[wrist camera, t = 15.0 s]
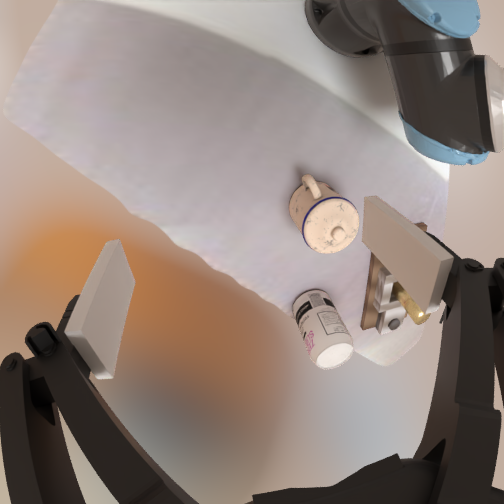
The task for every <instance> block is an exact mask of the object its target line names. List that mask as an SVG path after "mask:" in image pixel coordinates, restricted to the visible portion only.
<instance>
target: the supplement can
mask: <svg viewBox="0 0 504 504" xmlns="http://www.w3.org/2000/svg"><path fill="white" fill-rule="evenodd" d="M293 314H294V317H295V319H296V322H297V324H298V327H299V329H300V332H301V335H302V337H303V340H304V342H305V345H306V348H307V350H308V353H309V356H310V358H311V361H312V362H314V363H315V364H316V365H317V366H318V367H319V368H322V369H332V368H336V367H338V366H340V365H342V364H344V363H345V362H346V361H347V360H349V358H350V357H351V356H352V353H353V339H352V338H351V336H350V334H349V332H348V330H347V328H346V326H345V325H344V323H343V321H342V319H341V317H340V315H339V314H338V312H337V310H336V308H335V306H334V305H333V303H332V301H331V299H330V297H329V296H328V295H327V293H325V292H323V291H320V290H313V291H308V292H306V293H304V294H302V295H301V296H300V297H299V298H298V299H297V300H296V301H295V303H294V305H293Z"/></svg>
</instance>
